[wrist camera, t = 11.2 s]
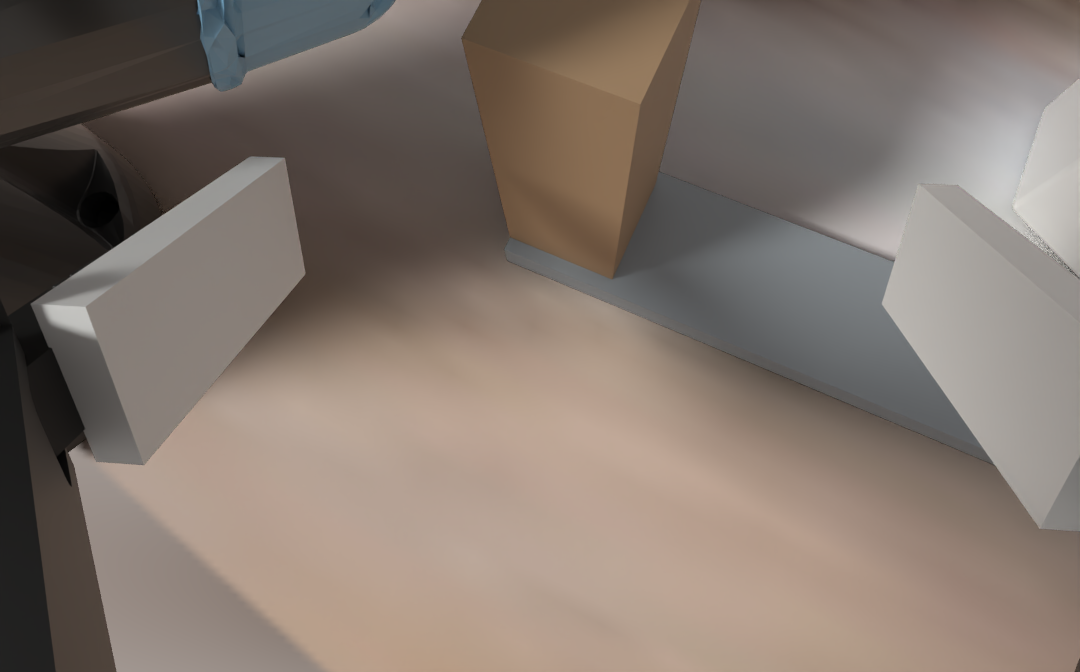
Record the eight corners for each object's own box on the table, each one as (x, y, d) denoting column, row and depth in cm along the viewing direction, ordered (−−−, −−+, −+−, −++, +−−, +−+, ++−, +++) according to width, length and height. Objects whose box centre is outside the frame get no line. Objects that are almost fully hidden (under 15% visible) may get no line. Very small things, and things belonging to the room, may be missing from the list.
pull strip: (507, 260, 26) (450, 57, 14) (681, -96, 30) (752, -497, 18) (1233, 565, 22) (1968, 630, 11) (1336, 117, 26) (1978, -212, 14)
